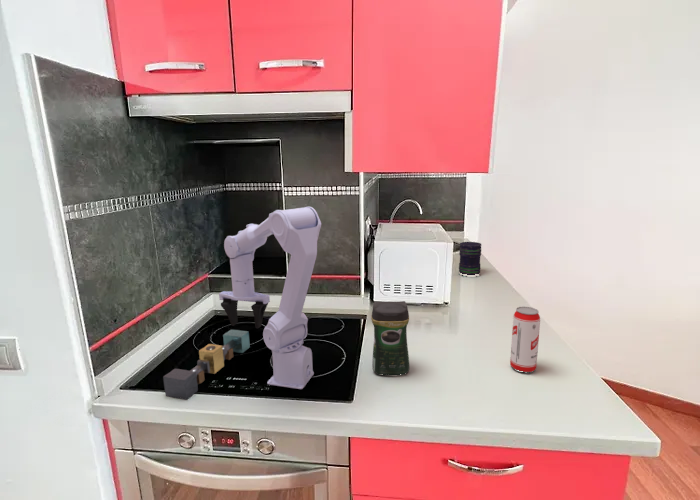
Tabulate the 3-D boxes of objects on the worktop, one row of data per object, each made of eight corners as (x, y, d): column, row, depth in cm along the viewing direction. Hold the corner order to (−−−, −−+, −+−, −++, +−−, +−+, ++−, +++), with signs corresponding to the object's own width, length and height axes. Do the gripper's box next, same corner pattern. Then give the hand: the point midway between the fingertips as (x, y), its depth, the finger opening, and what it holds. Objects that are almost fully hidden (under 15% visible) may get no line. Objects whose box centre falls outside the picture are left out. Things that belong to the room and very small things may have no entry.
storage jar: (466, 270, 196) (467, 240, 193) (484, 274, 189) (485, 243, 186) (454, 274, 190) (455, 243, 187) (472, 278, 183) (473, 246, 180)
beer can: (537, 366, 104) (542, 308, 101) (534, 377, 99) (539, 316, 96) (511, 360, 108) (515, 304, 104) (507, 371, 102) (511, 312, 99)
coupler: (224, 366, 108) (222, 345, 107) (214, 373, 104) (212, 352, 103) (210, 364, 109) (208, 343, 108) (201, 371, 105) (198, 350, 104)
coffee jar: (407, 362, 108) (408, 297, 104) (410, 377, 100) (411, 307, 96) (371, 362, 109) (371, 297, 105) (371, 377, 101) (371, 307, 97)
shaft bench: (249, 347, 119) (248, 331, 118) (186, 399, 93) (184, 380, 92) (232, 344, 121) (230, 329, 120) (165, 395, 95) (163, 376, 93)
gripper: (273, 276, 110) (276, 322, 113) (227, 273, 114) (231, 318, 117) (260, 283, 103) (264, 332, 106) (212, 280, 107) (217, 327, 110)
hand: (246, 325), depth 111 cm, fingers open, 7 cm apart
